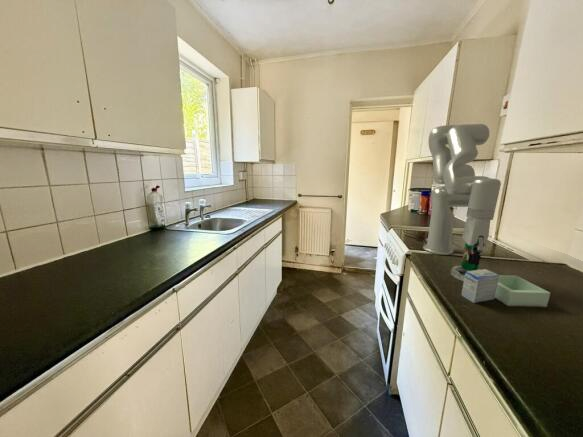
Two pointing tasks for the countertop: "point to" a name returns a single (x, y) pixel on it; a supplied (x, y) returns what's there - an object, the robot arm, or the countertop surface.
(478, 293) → the medicine box
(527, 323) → the countertop surface
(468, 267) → the soda can
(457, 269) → the collar
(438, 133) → the robot arm
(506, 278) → the bin
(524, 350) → the countertop surface
